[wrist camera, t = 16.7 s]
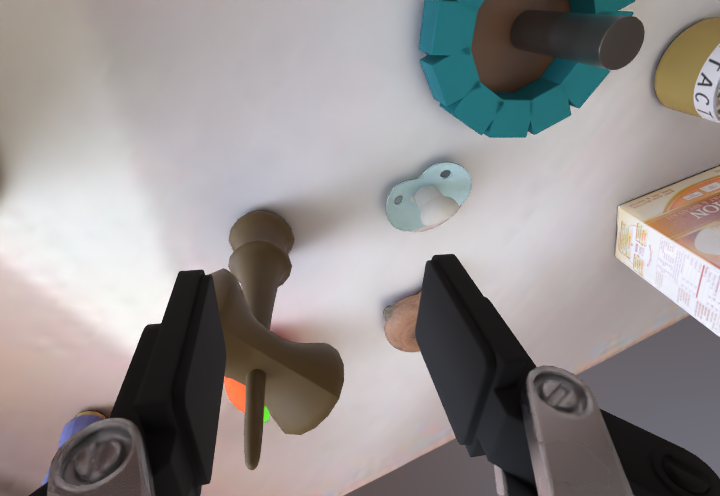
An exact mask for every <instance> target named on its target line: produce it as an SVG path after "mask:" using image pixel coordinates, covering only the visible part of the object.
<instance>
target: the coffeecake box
mask: <svg viewBox="0 0 720 496" xmlns="http://www.w3.org/2000/svg"><path fill="white" fill-rule="evenodd" d="M617 227H618V232H617V240H616V253H615V256H616V257H617V258H618V259H619V260H620V261H622V262H623V263H624V264H625V265H627V266H628V267H629V268H631V269H632V270H633V271H634V272H636V273H637V274H638V275H640V276H641V277H642V278H644V279H645V280H646V281H647V282H649V283H650V284H651V285H653V286H654V287H655V288H657V289H658V290H659V291H660V292H662V293H663V294H664V295H666V296H667V297H668V298H670V299H671V300H672V301H674V302H675V303H676V304H677V305H679V306H680V307H681V308H683V309H684V310H685V311H687V312H688V313H689V314H690V315H692V316H693V317H694V318H696V319H697V320H698V321H700V322H701V323H702V324H703V325H705V326H706V327H707V328H709V329H710V330H711V331H712V332H714V333H715V334H716V335H718V336H719V337H720V166H719V167H716V168H714V169H711V170H708V171H706V172H703V173H701V174H698V175H696V176H693V177H691V178H688V179H686V180H683V181H681V182H678V183H676V184H673V185H670V186H668V187H665V188H663V189H660V190H658V191H655V192H653V193H650V194H648V195H645V196H643V197H640V198H637V199H635V200H632V201H630V202H627V203H625V204H622V205H620V206H618V215H617Z"/></svg>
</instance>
